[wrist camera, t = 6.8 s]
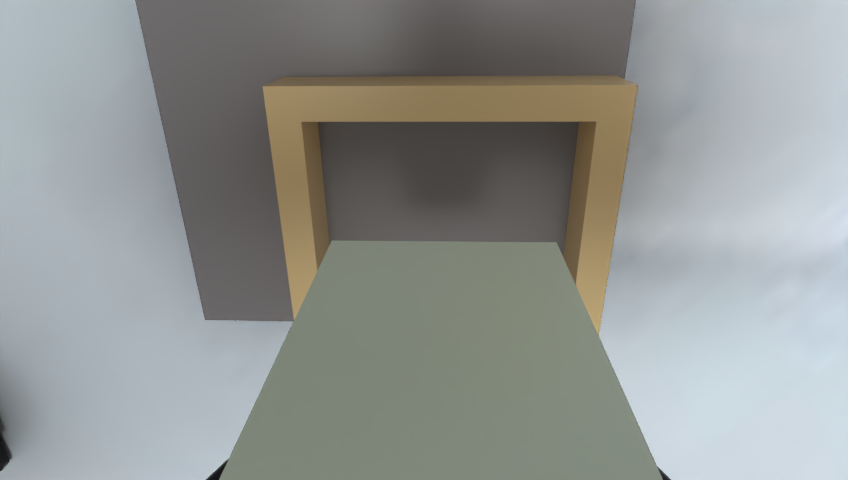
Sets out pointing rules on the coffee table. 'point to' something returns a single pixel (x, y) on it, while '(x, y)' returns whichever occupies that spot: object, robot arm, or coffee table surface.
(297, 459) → the block
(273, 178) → the socket dock
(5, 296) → the coffee table surface
